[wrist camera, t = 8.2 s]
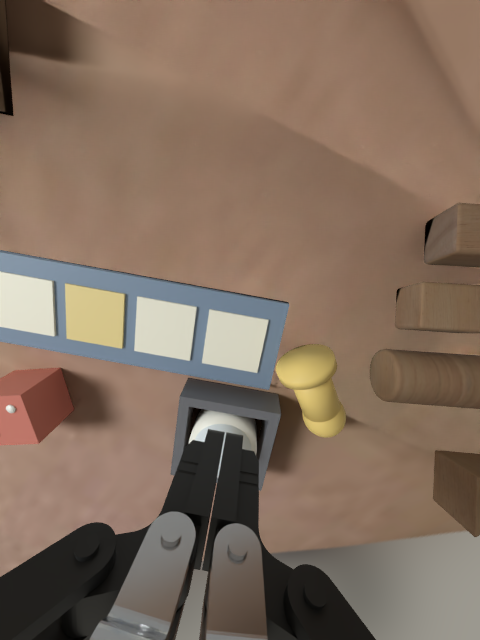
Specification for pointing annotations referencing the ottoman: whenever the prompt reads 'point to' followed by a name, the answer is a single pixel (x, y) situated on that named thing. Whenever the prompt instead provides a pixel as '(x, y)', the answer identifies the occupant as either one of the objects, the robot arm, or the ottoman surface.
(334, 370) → the pawn
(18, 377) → the die
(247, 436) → the dome
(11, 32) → the ottoman surface
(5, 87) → the serving frame
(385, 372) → the wooden block set
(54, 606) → the robot arm
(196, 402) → the base
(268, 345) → the board
